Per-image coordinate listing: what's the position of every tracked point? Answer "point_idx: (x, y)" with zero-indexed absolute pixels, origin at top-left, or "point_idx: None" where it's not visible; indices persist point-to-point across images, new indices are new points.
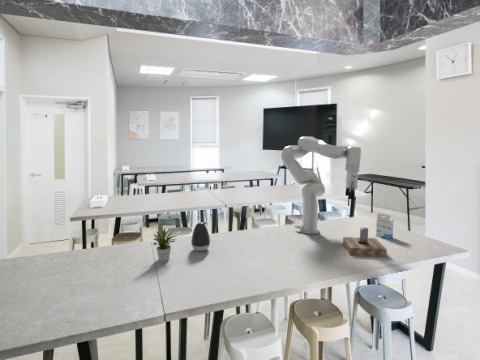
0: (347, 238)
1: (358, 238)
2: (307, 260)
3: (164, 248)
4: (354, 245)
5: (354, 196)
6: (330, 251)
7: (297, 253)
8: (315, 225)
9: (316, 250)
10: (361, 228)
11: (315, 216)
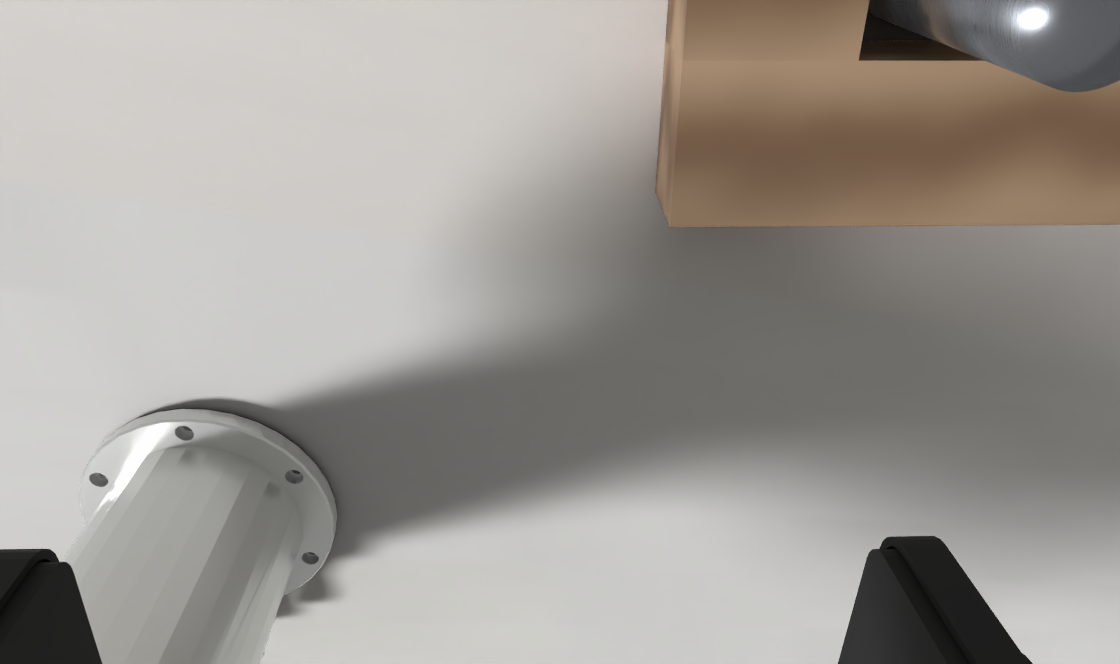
0: (735, 181)
1: (733, 4)
2: (1114, 563)
3: None
4: (1051, 149)
5: (1010, 644)
6: (920, 369)
7: None
8: (237, 524)
9: (878, 485)
10: (1086, 72)
11: (196, 636)
